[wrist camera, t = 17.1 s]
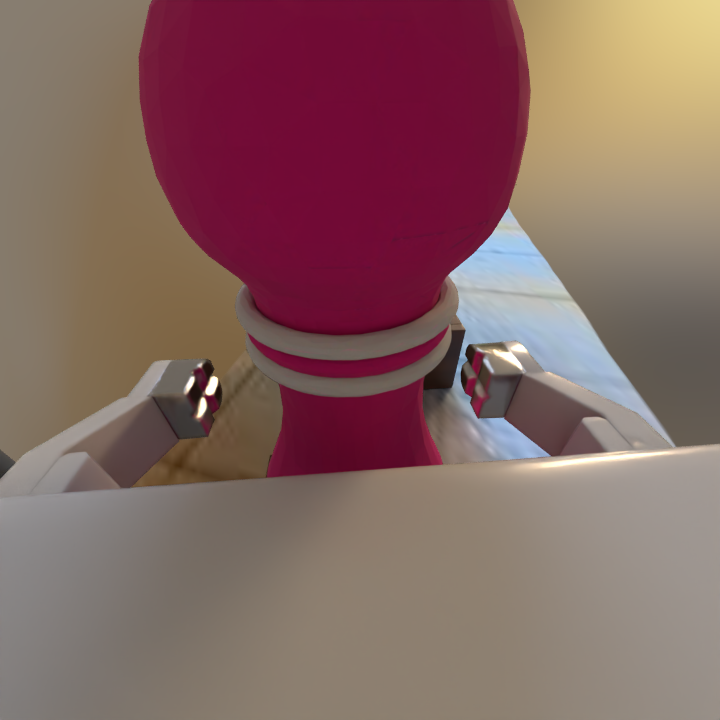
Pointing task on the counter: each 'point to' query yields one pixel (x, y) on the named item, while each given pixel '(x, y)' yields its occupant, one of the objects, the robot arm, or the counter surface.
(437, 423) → the counter surface
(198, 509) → the robot arm
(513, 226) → the counter surface
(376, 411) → the pepper mill
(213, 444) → the counter surface
